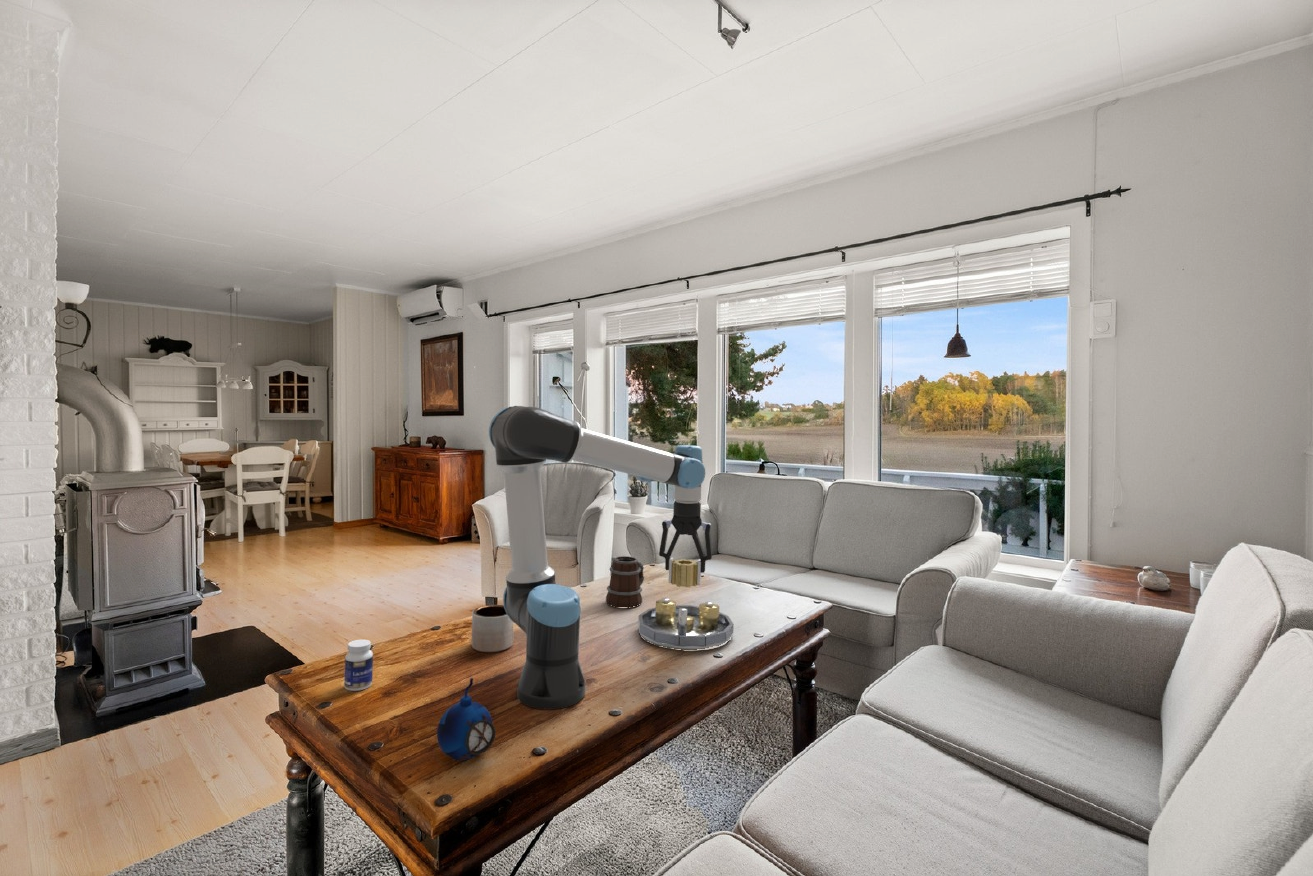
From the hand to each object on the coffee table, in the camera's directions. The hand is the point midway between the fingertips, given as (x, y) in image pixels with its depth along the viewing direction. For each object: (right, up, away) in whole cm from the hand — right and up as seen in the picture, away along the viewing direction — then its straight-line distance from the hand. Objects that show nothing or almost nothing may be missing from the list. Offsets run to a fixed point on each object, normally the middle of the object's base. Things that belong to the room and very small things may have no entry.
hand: (684, 582), depth 172 cm
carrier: (0, -17, +8) cm, 19 cm away
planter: (-52, -16, -6) cm, 55 cm away
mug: (-18, -15, +36) cm, 43 cm away
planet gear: (0, 0, 0) cm, 0 cm away
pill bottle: (-75, -16, -32) cm, 84 cm away
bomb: (-43, -18, -59) cm, 75 cm away
